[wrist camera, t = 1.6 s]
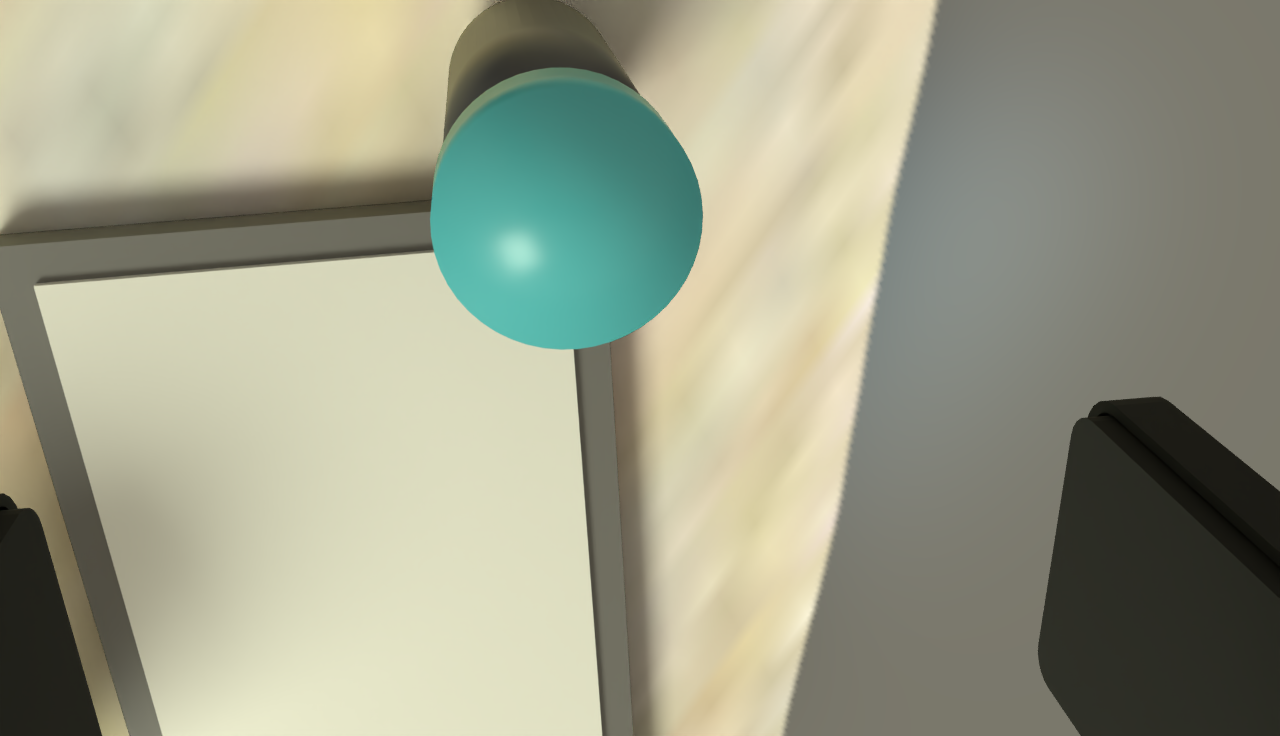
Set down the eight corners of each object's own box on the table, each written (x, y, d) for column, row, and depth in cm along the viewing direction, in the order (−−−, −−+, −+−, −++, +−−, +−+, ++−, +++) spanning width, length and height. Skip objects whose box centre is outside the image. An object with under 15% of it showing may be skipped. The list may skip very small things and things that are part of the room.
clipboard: (-4, 235, 29) (-35, 261, 27) (597, 187, 30) (605, 209, 28) (184, 870, 38) (170, 921, 36) (635, 808, 39) (642, 855, 38)
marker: (435, -8, 28) (413, 97, 17) (609, -19, 28) (700, 77, 17) (455, 163, 29) (446, 361, 18) (618, 151, 30) (705, 336, 19)
